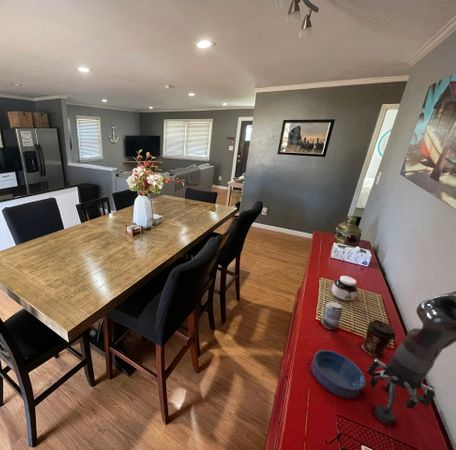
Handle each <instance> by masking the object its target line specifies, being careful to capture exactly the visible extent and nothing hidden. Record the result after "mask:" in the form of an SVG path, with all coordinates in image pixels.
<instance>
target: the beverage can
mask: <svg viewBox="0 0 456 450" xmlns="http://www.w3.org/2000/svg"><path fill="white" fill-rule="evenodd" d="M342 313H343V306H342V305H341V304H339V302H335V301H328V302H327V303H326V305H325V308H324V311H323V314H322V318H321V321H320V323H321V324H322V326H323V327H324V328H326V329H328V330H337V328H338V325H339V322H340V320H341V317H342Z"/></svg>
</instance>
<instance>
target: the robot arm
mask: <svg viewBox="0 0 456 450" xmlns="http://www.w3.org/2000/svg"><path fill="white" fill-rule="evenodd" d="M416 314H417V316H418V318H419V319H420V322H421V323H422V327H421V328H420V327H419V328H417V327H415V328H412V329H410V330H409V331H408V332H407V334H406V335H405V337H404V339H403V340H402V342H401V343H400V344H399V345H398V346H397V348H396V349H395V352H394V353H393V355H392V357H391V358H390V360H389V362H388V363H384V362H382V361H380V359H379V358H378V357H374V359H373V360H372V361H371V363H370V364H369V366H368V367H367V371H366V374H367V375H369V376H371V378H370V380H369V385H370V386H371V387H370V388H373V389H375V387H376V385H377V384H378V382H379V381H384V382H386V381H387V382H388V381H389V380H390V381H391V382H392V383H394V384H396V386H398V387H399V388H401V389H403V390H407V392H408V394H409V397H408V399H407V400H406V402H405V407H406V408H407V409H414V408H415V406H416V405H417V404H421V405H422V406H425V407H429V406H430V404H431V403H432V401H433V399H434V397H435V395H436V391H435V387H434V386H433V385H426V384H424V383H423V381H424V379H425V378H426V377H427V375H428V374H429V373H430V371H431V370H432V368H433V367H434V365H435V362H436V360H437V359H438V357H439V356H440V354H441V353H442V351H443V350H444V349H447V348H449V347H450V346H452V345H453V344H455V343H456V290H455V291H451V292H448V293H443V294H441V295H437V296H434V297H431V298H428V299H425V300H424V301H422V302H420V303H419V304H418V306H417V307H416ZM381 368H383V369H382V370H380V371H376V370H377V369H381ZM417 389H418V390H419V389H422V391H423V395H422V396H420V395H419V393H418V392H417Z"/></svg>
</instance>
